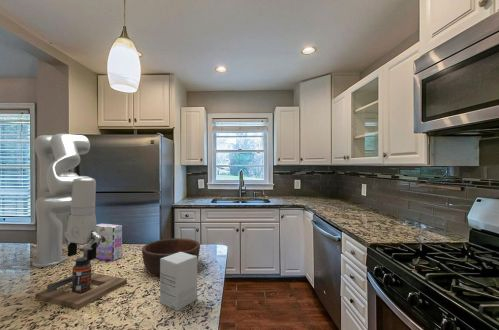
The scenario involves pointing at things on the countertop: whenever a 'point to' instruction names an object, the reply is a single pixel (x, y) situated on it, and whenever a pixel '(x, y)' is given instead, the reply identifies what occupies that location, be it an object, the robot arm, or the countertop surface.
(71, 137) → the robot arm
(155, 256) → the wooden bowl
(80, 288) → the supplement bottle
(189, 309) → the countertop surface
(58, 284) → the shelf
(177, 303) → the supplement box
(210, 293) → the countertop surface
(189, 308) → the countertop surface
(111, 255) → the candy box
